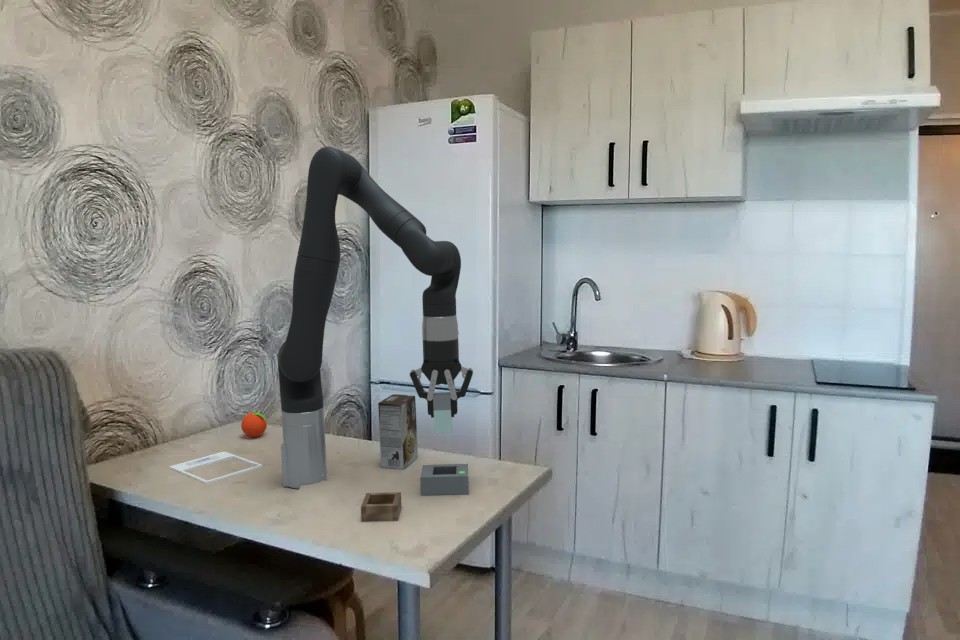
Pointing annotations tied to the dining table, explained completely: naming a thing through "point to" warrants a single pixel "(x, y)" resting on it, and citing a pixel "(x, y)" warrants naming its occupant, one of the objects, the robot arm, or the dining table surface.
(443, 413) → the plug
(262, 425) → the clementine
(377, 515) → the wooden box
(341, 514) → the dining table surface
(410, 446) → the coffee box
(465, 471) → the port
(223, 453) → the photo frame
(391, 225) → the robot arm
